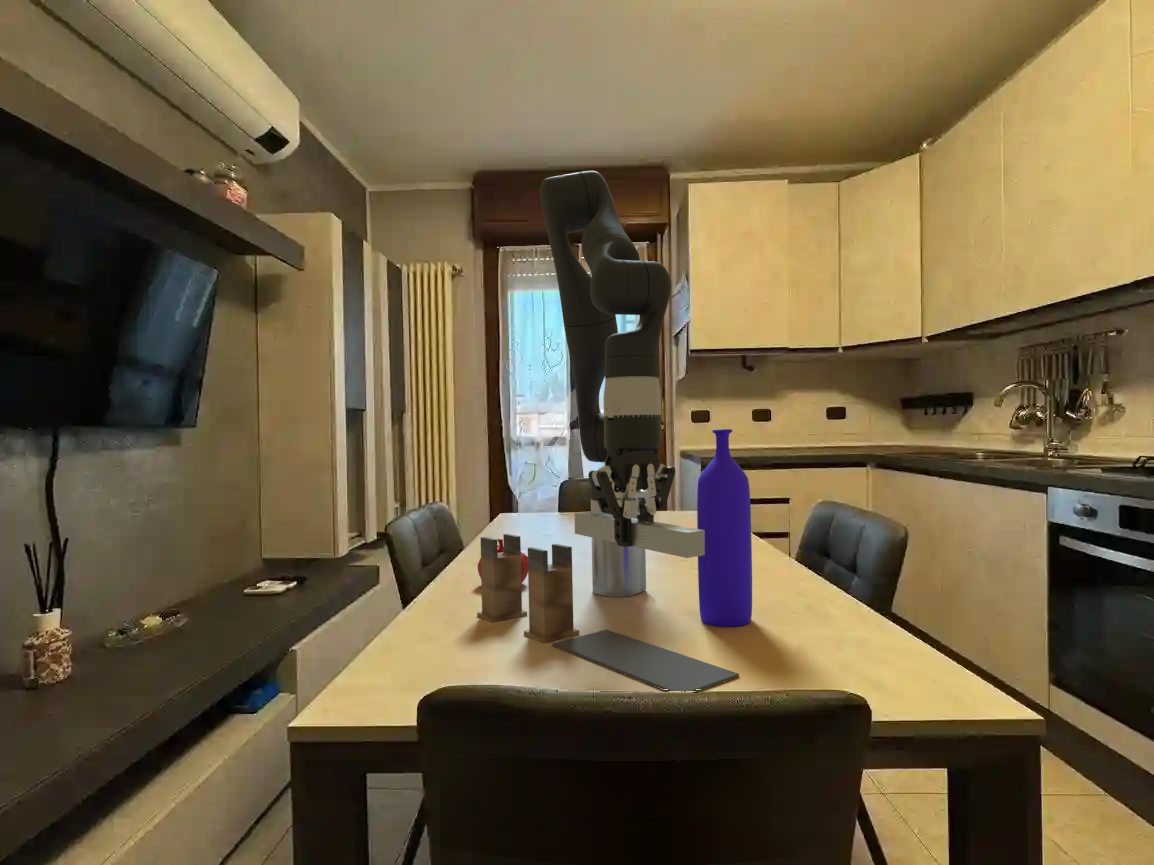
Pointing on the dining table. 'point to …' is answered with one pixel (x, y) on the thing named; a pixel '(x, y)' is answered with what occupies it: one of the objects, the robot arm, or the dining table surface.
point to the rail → (644, 534)
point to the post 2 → (550, 594)
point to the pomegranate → (523, 561)
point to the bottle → (725, 540)
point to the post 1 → (501, 579)
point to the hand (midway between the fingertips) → (634, 543)
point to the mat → (646, 661)
